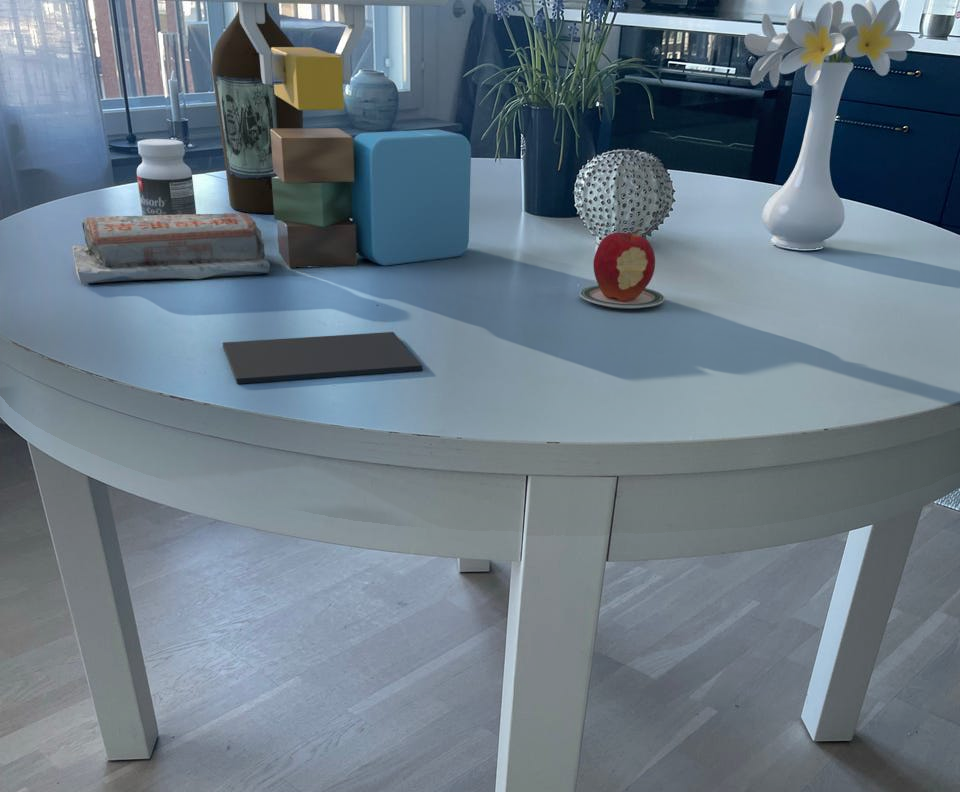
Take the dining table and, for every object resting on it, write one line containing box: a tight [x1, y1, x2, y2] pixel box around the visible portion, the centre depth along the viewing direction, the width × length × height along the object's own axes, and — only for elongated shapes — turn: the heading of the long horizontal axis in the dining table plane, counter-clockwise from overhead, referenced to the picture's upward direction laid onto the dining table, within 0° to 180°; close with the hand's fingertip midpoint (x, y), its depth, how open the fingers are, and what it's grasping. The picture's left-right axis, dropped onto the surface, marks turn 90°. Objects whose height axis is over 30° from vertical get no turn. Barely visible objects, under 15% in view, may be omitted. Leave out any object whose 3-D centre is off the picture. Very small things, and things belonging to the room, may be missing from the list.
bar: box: [271, 46, 345, 111], centre depth 69 cm, size 3×10×3 cm, turn 19°
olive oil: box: [211, 2, 304, 215], centre depth 123 cm, size 11×11×25 cm
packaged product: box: [72, 212, 271, 285], centre depth 100 cm, size 18×5×10 cm
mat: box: [222, 331, 423, 385], centre depth 79 cm, size 14×9×1 cm, turn 108°
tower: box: [270, 127, 358, 269], centre depth 104 cm, size 8×8×12 cm
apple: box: [579, 228, 665, 310], centre depth 95 cm, size 8×8×6 cm
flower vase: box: [743, 0, 916, 249], centre depth 113 cm, size 13×18×25 cm
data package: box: [351, 128, 472, 267], centre depth 106 cm, size 12×4×12 cm, turn 125°
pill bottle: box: [136, 138, 197, 216], centre depth 109 cm, size 6×6×10 cm
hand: (307, 84), depth 69 cm, fingers closed on bar, 3 cm apart
